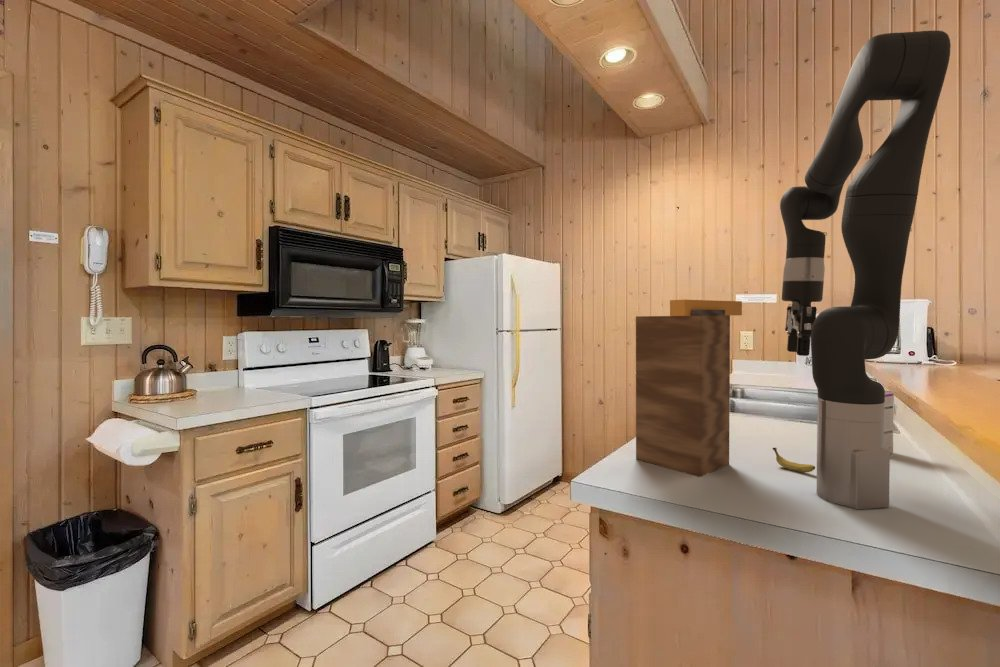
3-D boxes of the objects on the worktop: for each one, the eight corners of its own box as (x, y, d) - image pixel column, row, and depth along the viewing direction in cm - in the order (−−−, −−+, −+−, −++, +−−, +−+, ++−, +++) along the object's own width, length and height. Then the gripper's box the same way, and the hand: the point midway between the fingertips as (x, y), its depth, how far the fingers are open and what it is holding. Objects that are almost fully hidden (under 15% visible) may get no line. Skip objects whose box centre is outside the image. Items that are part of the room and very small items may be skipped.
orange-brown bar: (727, 315, 109) (727, 301, 109) (741, 315, 106) (741, 301, 106) (670, 316, 94) (669, 300, 94) (684, 315, 92) (684, 299, 92)
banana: (770, 466, 99) (770, 447, 99) (774, 465, 100) (775, 446, 99) (813, 477, 92) (813, 457, 92) (817, 475, 93) (817, 455, 93)
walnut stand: (666, 449, 112) (666, 311, 110) (729, 464, 100) (729, 309, 99) (636, 459, 104) (635, 311, 103) (699, 476, 92) (700, 309, 91)
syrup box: (894, 453, 107) (895, 390, 106) (878, 456, 105) (879, 392, 104) (867, 446, 112) (867, 386, 112) (851, 449, 110) (851, 388, 110)
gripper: (834, 278, 94) (827, 358, 95) (813, 281, 107) (808, 351, 108) (791, 278, 96) (785, 355, 97) (776, 281, 109) (771, 349, 111)
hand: (797, 353), depth 103 cm, fingers open, 8 cm apart
